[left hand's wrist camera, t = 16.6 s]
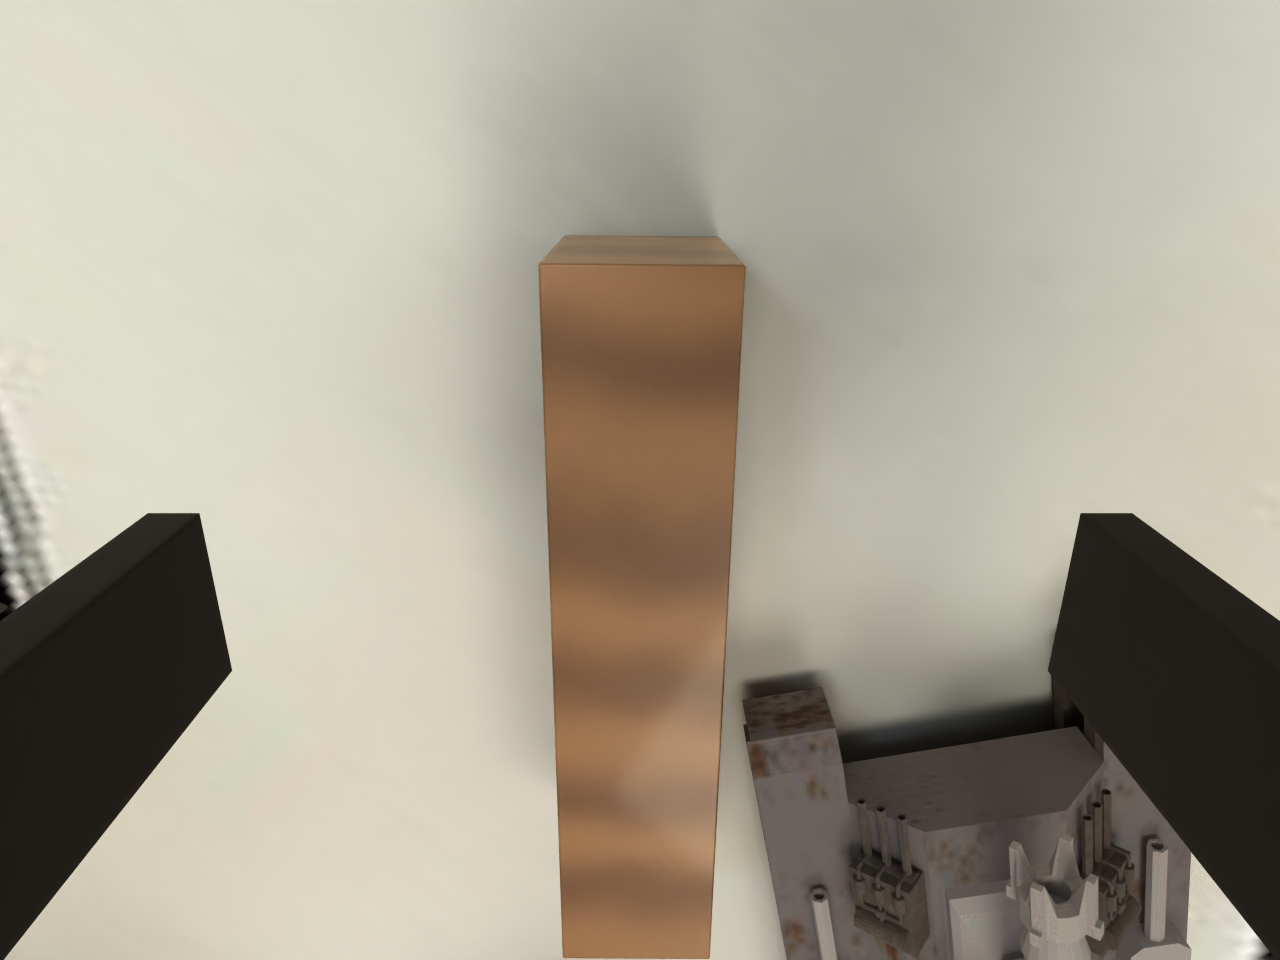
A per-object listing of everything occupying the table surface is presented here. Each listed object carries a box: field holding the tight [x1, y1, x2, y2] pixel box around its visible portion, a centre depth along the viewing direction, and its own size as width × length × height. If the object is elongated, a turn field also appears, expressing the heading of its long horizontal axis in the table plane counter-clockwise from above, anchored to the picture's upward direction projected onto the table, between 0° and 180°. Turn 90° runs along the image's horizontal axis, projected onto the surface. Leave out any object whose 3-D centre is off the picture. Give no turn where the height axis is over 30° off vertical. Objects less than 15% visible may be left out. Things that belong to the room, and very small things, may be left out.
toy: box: [743, 678, 1191, 960], centre depth 40 cm, size 25×20×15 cm
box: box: [539, 236, 745, 959], centre depth 36 cm, size 30×6×10 cm, turn 0°
